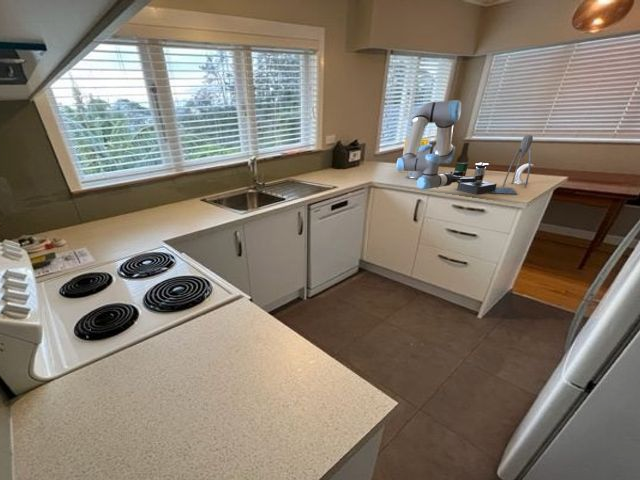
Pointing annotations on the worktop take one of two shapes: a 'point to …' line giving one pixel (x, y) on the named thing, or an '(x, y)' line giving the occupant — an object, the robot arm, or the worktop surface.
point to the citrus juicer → (524, 149)
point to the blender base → (477, 187)
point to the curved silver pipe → (518, 174)
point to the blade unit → (480, 172)
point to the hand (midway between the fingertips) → (471, 175)
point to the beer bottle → (462, 161)
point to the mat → (503, 191)
